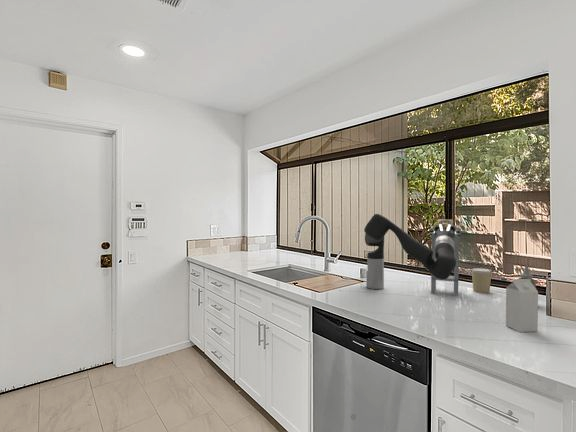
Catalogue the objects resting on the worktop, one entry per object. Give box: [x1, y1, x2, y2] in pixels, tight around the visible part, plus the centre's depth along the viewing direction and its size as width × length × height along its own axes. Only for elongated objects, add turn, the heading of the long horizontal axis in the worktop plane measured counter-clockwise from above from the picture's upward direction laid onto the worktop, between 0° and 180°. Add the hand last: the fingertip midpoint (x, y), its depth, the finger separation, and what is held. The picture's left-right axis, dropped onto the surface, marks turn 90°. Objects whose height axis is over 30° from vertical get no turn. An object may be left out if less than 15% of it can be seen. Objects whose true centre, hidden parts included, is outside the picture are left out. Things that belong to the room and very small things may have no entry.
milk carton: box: [505, 278, 539, 333], centre depth 124 cm, size 7×7×19 cm
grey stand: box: [429, 234, 461, 297], centre depth 176 cm, size 14×10×32 cm
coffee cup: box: [471, 267, 493, 294], centre depth 178 cm, size 9×9×12 cm
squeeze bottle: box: [518, 266, 537, 289], centre depth 154 cm, size 8×8×18 cm
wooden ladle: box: [437, 219, 454, 228], centre depth 160 cm, size 7×19×3 cm, turn 153°
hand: (445, 222), depth 157 cm, fingers closed on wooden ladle, 2 cm apart
